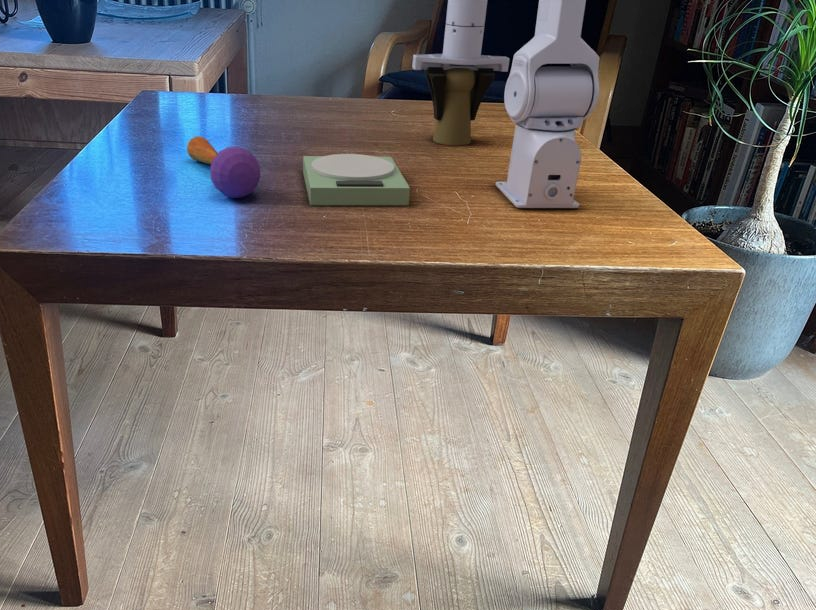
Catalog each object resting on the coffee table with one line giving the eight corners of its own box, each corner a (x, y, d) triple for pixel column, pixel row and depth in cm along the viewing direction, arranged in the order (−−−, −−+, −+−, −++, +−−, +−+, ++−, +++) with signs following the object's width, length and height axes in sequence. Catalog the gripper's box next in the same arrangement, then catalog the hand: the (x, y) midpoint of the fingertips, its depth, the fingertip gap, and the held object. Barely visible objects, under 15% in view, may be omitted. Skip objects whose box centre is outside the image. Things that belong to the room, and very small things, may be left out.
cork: (469, 146, 115) (479, 72, 109) (431, 143, 116) (438, 69, 110) (471, 137, 120) (480, 66, 114) (434, 134, 121) (441, 63, 115)
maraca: (222, 129, 102) (270, 154, 86) (217, 172, 105) (263, 205, 88) (179, 123, 100) (221, 148, 83) (175, 168, 102) (215, 200, 86)
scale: (408, 205, 89) (410, 183, 88) (310, 205, 88) (310, 183, 86) (390, 172, 101) (391, 152, 100) (303, 172, 100) (303, 152, 98)
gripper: (504, 23, 113) (491, 113, 120) (411, 20, 112) (404, 112, 119) (518, 28, 107) (504, 123, 114) (421, 25, 106) (412, 122, 113)
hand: (454, 118), depth 116 cm, fingers closed on cork, 5 cm apart
